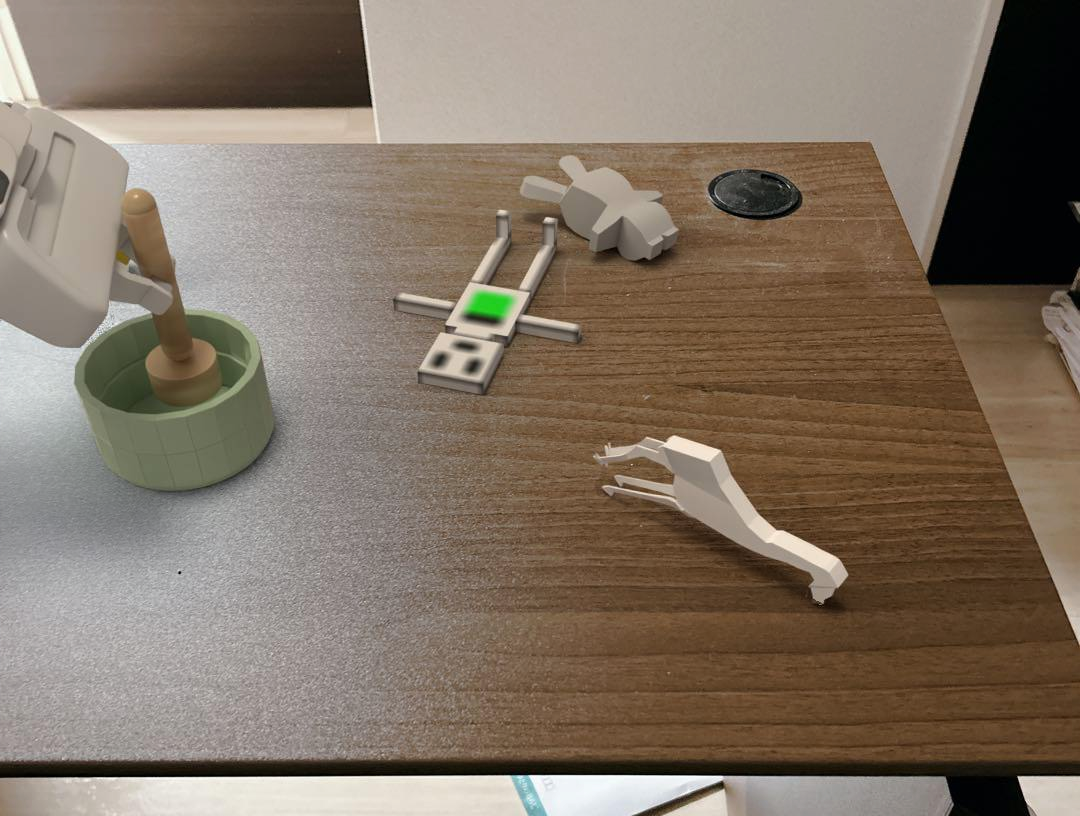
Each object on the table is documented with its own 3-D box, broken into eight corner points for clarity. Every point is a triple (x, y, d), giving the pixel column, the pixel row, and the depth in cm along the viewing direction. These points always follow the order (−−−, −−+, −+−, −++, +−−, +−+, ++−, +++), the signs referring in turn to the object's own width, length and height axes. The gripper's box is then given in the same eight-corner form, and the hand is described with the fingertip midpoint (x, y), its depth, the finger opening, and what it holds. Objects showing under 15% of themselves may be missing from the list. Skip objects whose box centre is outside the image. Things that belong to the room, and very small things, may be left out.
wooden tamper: (144, 405, 82) (82, 209, 70) (164, 363, 85) (109, 169, 74) (212, 408, 81) (161, 212, 70) (230, 366, 85) (184, 172, 73)
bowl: (75, 488, 82) (46, 414, 77) (132, 377, 91) (109, 304, 86) (251, 498, 82) (233, 425, 77) (291, 386, 91) (278, 313, 85)
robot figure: (444, 231, 107) (354, 370, 92) (442, 200, 104) (350, 337, 90) (614, 260, 104) (549, 407, 89) (616, 228, 101) (550, 374, 87)
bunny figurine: (635, 243, 98) (511, 165, 104) (626, 290, 102) (507, 213, 108) (701, 202, 103) (579, 130, 109) (690, 249, 107) (573, 177, 113)
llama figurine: (625, 566, 86) (841, 612, 74) (585, 438, 80) (811, 466, 68) (639, 552, 87) (854, 595, 75) (600, 425, 81) (825, 450, 69)
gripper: (-28, 125, 77) (152, 239, 86) (-89, 293, 63) (134, 409, 72) (18, 56, 75) (200, 180, 83) (-34, 215, 61) (191, 345, 69)
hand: (169, 288), depth 77 cm, fingers closed on wooden tamper, 2 cm apart
